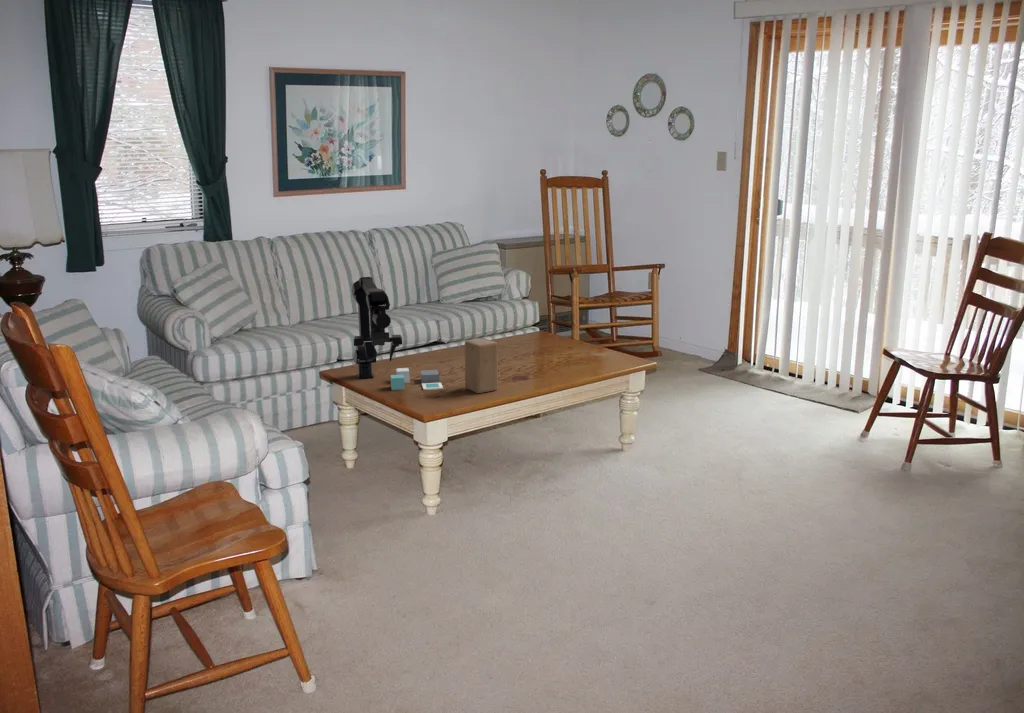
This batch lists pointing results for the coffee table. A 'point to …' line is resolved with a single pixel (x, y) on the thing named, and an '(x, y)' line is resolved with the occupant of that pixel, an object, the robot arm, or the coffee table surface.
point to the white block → (403, 372)
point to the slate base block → (430, 376)
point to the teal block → (397, 382)
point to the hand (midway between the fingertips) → (378, 361)
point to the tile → (432, 386)
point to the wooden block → (481, 365)
